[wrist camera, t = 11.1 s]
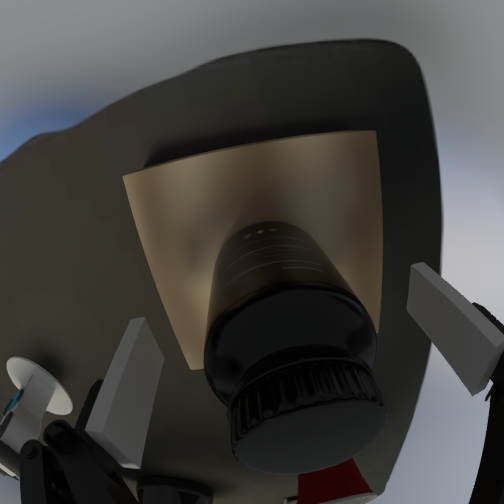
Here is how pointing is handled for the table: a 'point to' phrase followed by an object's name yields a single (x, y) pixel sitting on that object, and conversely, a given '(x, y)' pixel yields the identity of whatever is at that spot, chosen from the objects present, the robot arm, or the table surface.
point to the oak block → (258, 216)
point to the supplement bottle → (290, 353)
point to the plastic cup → (334, 486)
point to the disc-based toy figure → (28, 409)
